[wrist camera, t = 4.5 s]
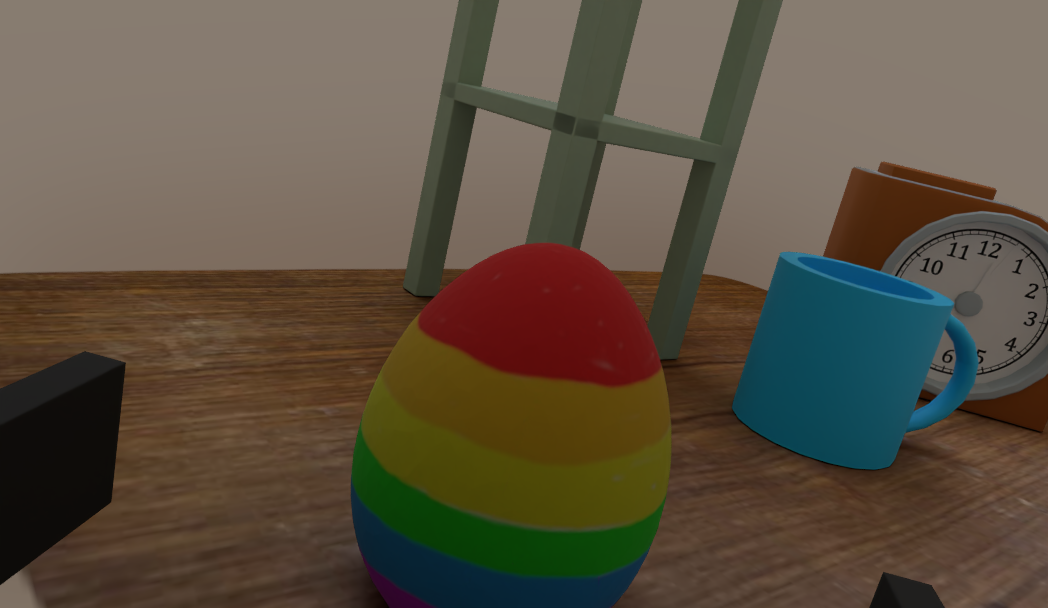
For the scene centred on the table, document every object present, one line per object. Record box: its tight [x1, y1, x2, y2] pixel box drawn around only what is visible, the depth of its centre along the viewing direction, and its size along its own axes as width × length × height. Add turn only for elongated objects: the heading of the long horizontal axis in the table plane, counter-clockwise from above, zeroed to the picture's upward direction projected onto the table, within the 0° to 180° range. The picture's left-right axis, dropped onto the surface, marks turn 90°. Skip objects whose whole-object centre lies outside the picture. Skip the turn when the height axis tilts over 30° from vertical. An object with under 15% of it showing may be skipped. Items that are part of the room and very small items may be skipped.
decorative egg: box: [351, 243, 671, 608], centre depth 22 cm, size 8×8×10 cm
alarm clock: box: [823, 162, 1048, 432], centre depth 54 cm, size 15×8×14 cm, turn 76°
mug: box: [732, 252, 979, 470], centre depth 41 cm, size 12×8×8 cm
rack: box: [403, 0, 783, 360], centre depth 44 cm, size 12×12×36 cm
